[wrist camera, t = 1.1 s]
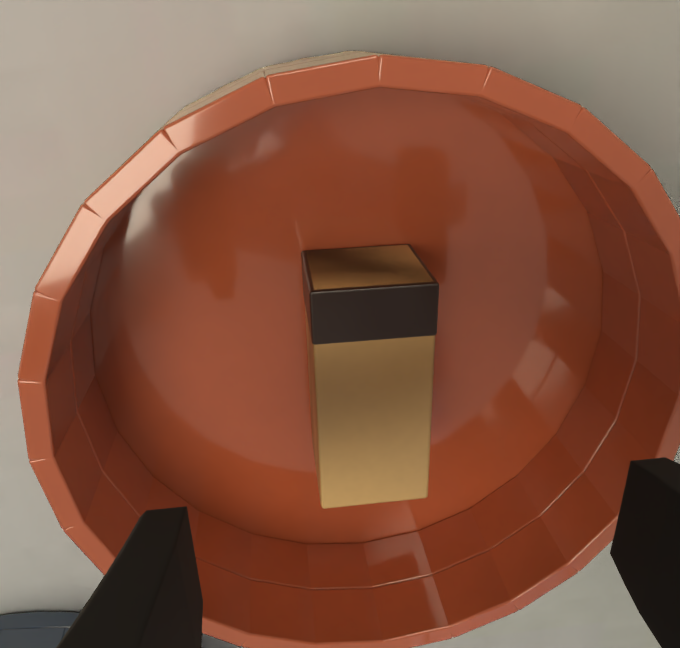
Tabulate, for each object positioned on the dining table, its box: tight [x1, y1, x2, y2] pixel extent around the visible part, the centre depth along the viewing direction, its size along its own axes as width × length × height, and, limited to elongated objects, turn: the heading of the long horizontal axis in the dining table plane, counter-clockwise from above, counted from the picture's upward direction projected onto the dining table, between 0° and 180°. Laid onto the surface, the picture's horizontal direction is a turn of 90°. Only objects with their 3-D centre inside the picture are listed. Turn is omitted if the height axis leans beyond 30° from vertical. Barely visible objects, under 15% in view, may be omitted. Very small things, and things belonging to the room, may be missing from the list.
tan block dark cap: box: [301, 244, 439, 509], centre depth 15 cm, size 6×3×3 cm, turn 1°
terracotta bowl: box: [18, 51, 680, 648], centre depth 14 cm, size 14×14×4 cm
